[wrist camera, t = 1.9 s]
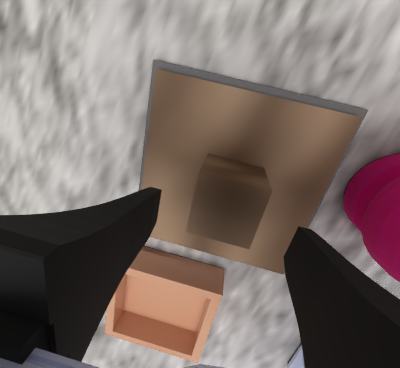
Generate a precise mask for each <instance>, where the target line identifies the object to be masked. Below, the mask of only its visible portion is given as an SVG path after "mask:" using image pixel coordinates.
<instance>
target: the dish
mask: <svg viewBox="0 0 400 368" xmlns="http://www.w3.org/2000/svg"><path fill="white" fill-rule="evenodd" d="M223 282H224V269H222V268H219V267H215V266H212V265H209V264H205V263H202V262H198V261H195V260H191V259H188V258H184V257H181V256H177V255H174V254H170V253H167V252H163V251H160V250H156V249H153V248H149V247H146V246H143V248H142V249H141V251H140V252H139V254H138V255H137V257H136V258H135V260H134V261H133V263H132V264H131V266H130V267H129V269H128V270H127V272H126V273H125V275H124V277H123V278H122V280H121V282H120V284H119V286H118V288H117V290H116V292H115V294H114V295H113V297H112V299H111V301H110V303H109V305H108V307H107V309H106V324H105V334H107V335H110V336H114V337H117V338H120V339H123V340H126V341H129V342H133V343H136V344H139V345H142V346H145V347H149V348H152V349H155V350H158V351H161V352H164V353H168V354H171V355H174V356H177V357H180V358H184V359H187V360H190V361H193V362H196V363H198V360H199V358H200V355H201V352H202V350H203V347H204V344H205V342H206V339H207V336H208V333H209V331H210V328H211V325H212V323H213V320H214V317H215V315H216V312H217V309H218V306H219V304H220V301H221V298H222V296H223Z"/></svg>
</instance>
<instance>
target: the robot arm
mask: <svg viewBox="0 0 400 368" xmlns="http://www.w3.org/2000/svg"><path fill="white" fill-rule="evenodd" d="M161 192H162V190H161V189H157V188H154V187H148V188H145V189H143V190H140V191H138V192H135V193H133V194H130V195H127V196H125V197H122V198H119V199H116V200H113V201H110V202H107V203H103V204H100V205H96V206H91V207H87V208H82V209H76V210H70V211H63V212H56V213H46V214H32V215H0V368H98V367H95V366H92V365H89V364H85V363H82V362H81V361H82V359H83V357H84V355H85V353H86V350H87V348H88V346H89V344H90V342H91V340H92V338H93V336H94V334H95V332H96V329H97V327H98V325H99V323H100V321H101V319H102V317H103V315H104V313H105V311H106V309H107V307H108V305H109V303H110V301H111V299H112V297H113V295H114V294H115V292H116V290H117V288H118V286H119V284H120V282H121V280H122V278H123V277H124V275H125V273H126V272H127V270H128V269H129V267H130V266H131V264H132V263H133V261H134V260H135V258H136V257H137V255H138V254H139V252H140V251H141V249H142V248H143V246H144V245H145V243H146V242H147V240H148V238H149V237H150V235H151V233H152V231H153V229H154V227H155V225H156V222H157V217H158V211H159V205H160V198H161ZM284 267H285V275H286V279H287V283H288V287H289V291H290V295H291V299H292V303H293V306H294V310H295V314H296V318H297V322H298V327H299V332H300V338H301V346H300V347H299V349H298V350H297V352H296V353H295V355H294V356H293V358H292V359H291V361H290V362H289V364H288V365H287V367H288V368H400V299H398V298H397V297H395V296H394V295H392V294H391V293H390V292H388V291H387V290H385V289H384V288H383V287H381V286H380V285H378V284H377V283H375V282H374V281H373V280H371V279H370V278H369V277H368V276H366V275H365V274H364V273H362V272H361V271H360V270H359V269H357V268H356V267H355V266H354V265H353V264H351V263H350V262H349V261H348V260H347V259H345V258H344V257H343V256H342V255H341V254H340V253H338V252H337V251H336V250H335V249H334V248H333V247H332V246H330V245H329V244H328V243H327V242H326V241H325V240H324V239H322V238H321V237H320V236H319V235H318V234H316V233H315V232H314V231H312V230H311V229H307V228H303V227H299V226H298V228H297V230H296V232H295V234H294V236H293V239H292V241H291V243H290V245H289V247H288V249H287V251H286V253H285V255H284ZM185 368H223V367H216V366H209V365H203V364H199V365H194V366H189V367H185Z"/></svg>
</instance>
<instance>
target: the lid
mask: <svg viewBox="0 0 400 368" xmlns="http://www.w3.org/2000/svg"><path fill="white" fill-rule="evenodd" d="M362 118H363V117H359V116H355V115H351V114H346V113H342V112H338V111H334V110H329V109H325V108H321V107H317V106H312V105H308V104H304V103H300V102H295V101H291V100H287V99H283V98H279V97H274V96H270V95H266V94H262V93H257V92H253V91H249V90H245V89H240V88H236V87H232V86H228V85H223V84H219V83H215V82H211V81H207V80H202V79H198V78H194V77H190V76H185V75H181V74H177V73H173V72H168V71H164V70H160V69H156V68H155V77H154V86H153V94H152V103H151V111H150V120H149V128H148V137H147V145H146V154H145V162H144V171H143V180H142V188H141V190H143V189H145V188H148V187H154V188H157V189H161V190H162V192H161V198H160V205H159V211H158V217H157V222H156V225H155V227H154V229H153V231H152V233H151V235H150V237H153V238H157V239H160V240H164V241H167V242H171V243H174V244H178V245H181V246H185V247H188V248H192V249H195V250H199V251H203V252H206V253H210V254H213V255H217V256H220V257H224V258H227V259H231V260H234V261H238V262H241V263H245V264H248V265H252V266H255V267H259V268H263V269H266V270H270V271H273V272H277V273H280V274H284V272H285V267H284V255H285V253H286V251H287V249H288V247H289V245H290V243H291V241H292V239H293V236H294V234H295V232H296V230H297V228H298V226H299V227H303V228H307V227H308V225H309V223H310V221H311V219H312V217H313V215H314V213H315V211H316V209H317V207H318V205H319V203H320V201H321V199H322V197H323V195H324V193H325V191H326V189H327V187H328V185H329V183H330V181H331V179H332V177H333V175H334V173H335V171H336V169H337V167H338V165H339V163H340V161H341V159H342V157H343V155H344V153H345V151H346V149H347V148H348V146H349V144H350V142H351V140H352V138H353V136H354V134H355V132H356V130H357V128H358V126H359V124H360V122H361V120H362Z"/></svg>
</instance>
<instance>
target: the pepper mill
mask: <svg viewBox="0 0 400 368" xmlns="http://www.w3.org/2000/svg"><path fill="white" fill-rule="evenodd" d="M344 208H345V212H346V214H347V216H348V217H349V219H350V220H351V221H352V222H353V223H354V225H355V226H356V227H357V228H358V229H359V230H360V231H361V232H362V236H363V242H364V244H365V246H366V248H367V250H368V252H369V253H370V255H371V257H372V258H373V259H374V260H375V261H376V262H377V263H378V264H379V265H380V266H381V267H382V268H383V269H384V270H385V271H386V272H387V273H388V274H389V275H390V276H392V277H393V278H395V279H396V280H397V281H399V282H400V154H395V155H390V156H386V157H383V158H380V159H378V160H376V161H373V162H371V163H370V164H368V165H366V166H365V167H364V168H362V169H361V170H360V171H359V172H357V173H356V175H355V176H354V177H353V178H352V180H351V181H350V182H349V184H348V186H347V188H346V191H345V194H344Z"/></svg>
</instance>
